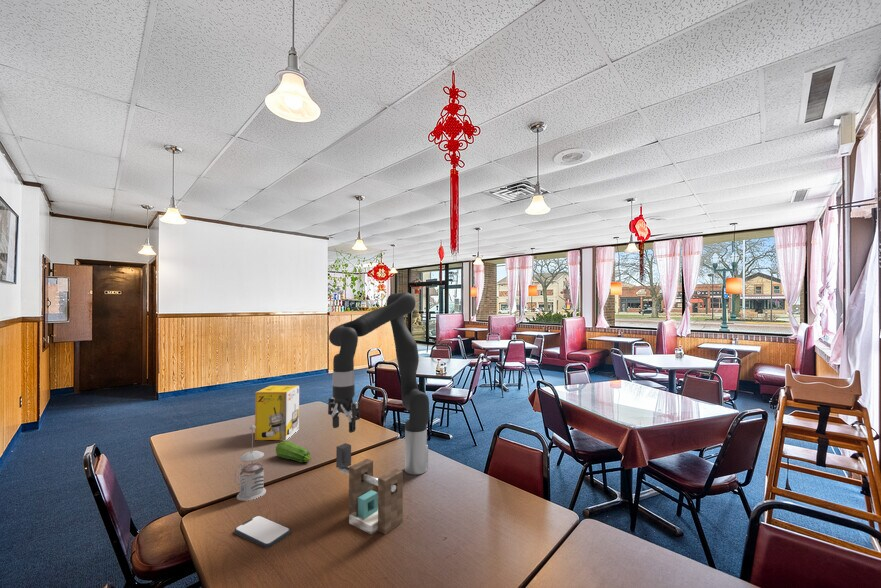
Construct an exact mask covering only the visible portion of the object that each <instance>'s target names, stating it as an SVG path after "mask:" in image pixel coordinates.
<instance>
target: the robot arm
mask: <svg viewBox="0 0 881 588" xmlns="http://www.w3.org/2000/svg"><path fill="white" fill-rule="evenodd" d="M415 307H416V299H415V296H414V295H413V294H411V293H410V292H397V293H391V294H389V295H388V296H387V299H386V305H385V306H383V307H380V308H377V309H374V310H371V311H369V312H367V313H364V314H362V315H361V316H359V317H357V318H356V319H353V320H350V321H348V322H347V321H346V322H344V323H342V324H339V325H337V326H335V327H334V328H332V330H330V332H329V336H328V339H329V342H330V343H331V345H332V346H334V347H335V346H336V347H340V348H339V352H338V353H337V354H335V355H334V356H333V359H332V360H333V361H332V362H333V363H332V369H333V371H332V397H329V398H328V404H327V405H328V408H327V409H328V410H327V414H328V415H330V416H331V418H332V428H333V429H337V428H339V426H340V413H342V414H344V416H345V417H347V420H348V433H350V434H351V433H354V432H355V431H356V428H357V427H356V421H359V420H360V419H361V409H360V406H361V405H360V401H355V402H354V400H353V399H354V397H355V393H356V392H355V388H356V387H355V384H356V383H355V369H354V368H355V366H354V365H355V361H354V360H355V359H354V358H355V354H356V352H357V347H358V343H359V342H358V341H359V337H364V336H366V335H368V334H370V333H371V332H373V331H375V330H376V329H378V328H380V327H382V326H383V325H385V324H387V323H389V322H390V325H391V326H390V327H391V330H392V334H393V335H392V336H393V340H394V348H395V355H396V361H397V365H398V371H399V377H400V379H399V380H400V387H401V388H400V389H401V390H400V391H401V402H402V405H403V408H404V409H406V410H407V411H408V412H409V416H408V417H409V418H408V420H406V421H405V423H404V434H405V435H404V471H405V473H406V474H409V475H416V476H417V475H421V474H424V473H426V472H427V469H428V468H429V445H428V431H427V430H428V428H427V427H428V423H429V418H430V399H429V396H428V394H427V393H425V392H423V391H421V390H420V389H419V387H418V381H417V371H418V366H419V361H420V360H419V351H418V344H417V341H416V340H415V338H414V336H413V335H412V333H411V331H410V330H409V329H408V327H407V325H406V320H405V317H404V316H406V315H408V314H411V313H412V312H413V311H414V309H415Z"/></svg>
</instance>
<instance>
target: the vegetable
mask: <svg viewBox="0 0 881 588" xmlns="http://www.w3.org/2000/svg"><path fill="white" fill-rule="evenodd" d="M275 454H276V455H277V457H279V458H282V459H286V460H290V459H291V461H292V460H293V461H296V462H299V463H302V462H305V463H308V462H310V460H311V459H312V457H311V452H310V451H309V450H308V449H307V448H305V447H302V446H300V445H298V444H295V442H292V441H289V440H287V441H279V442H278V444H276V447H275Z"/></svg>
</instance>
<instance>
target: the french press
mask: <svg viewBox="0 0 881 588" xmlns="http://www.w3.org/2000/svg"><path fill="white" fill-rule="evenodd" d="M255 428H256V427H255V424H253V425H251V426H249V429H250V430H252V431H251V433H252V434H251V437H252V438H251V439H252V440H251V451H247V452H246V453H244V454H242V455H241V456H239V460H240V461H241V462H245V463H248V462H251V463H248V464H246V465H245V464H242V463H241V464H239V466H237V468H236V470H235V473H234V483H235V484H236V485H237V486H239V493H237V495H236V500H238V501H243V502H247V501H248V500H249V501H253V499H254V500H256V498H257V499H259V498H261V497H263V496H264V495H265V494H266V492H267V489H266V488H265V487H264V483H265V481H264V476H265V472H264V471H265V470H264V467H263V466H264V465H263V463H257V462H254V461H257V460H260V459H262V458H263V457H264V456H265V453H264V452H262V451H259V450H254V449H253V445H254V444H253V443H254V442H253V440H254V430H255ZM253 462H254V463H253ZM240 467H241V468H240ZM239 468H240V470H239V472H238V469H239ZM237 472H238V476H236V475H237ZM248 474H249V475H248ZM236 477H237V478H236ZM236 479H237V480H236ZM237 481H238V482H237ZM238 483H239V484H238ZM260 496H261V497H260ZM258 497H259V498H258Z"/></svg>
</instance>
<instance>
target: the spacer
mask: <svg viewBox="0 0 881 588" xmlns="http://www.w3.org/2000/svg"><path fill="white" fill-rule="evenodd" d="M377 511H378V491H375V490H374V489H373V490H370V491H369V492H367V493H365V494H363V495H362V496H360V497H358V517H360V518H362V519H366V518H367V517H369V516H370V515H372V514H373V513H375V512H377Z"/></svg>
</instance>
